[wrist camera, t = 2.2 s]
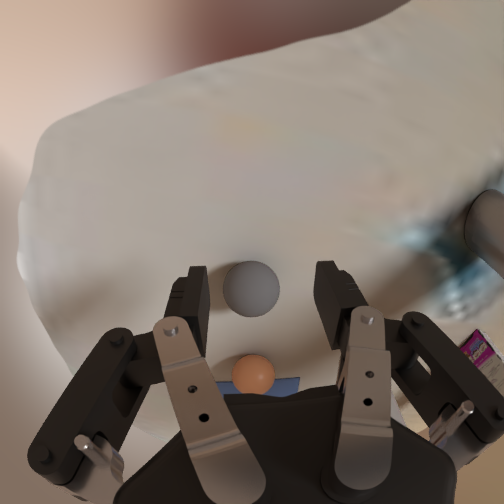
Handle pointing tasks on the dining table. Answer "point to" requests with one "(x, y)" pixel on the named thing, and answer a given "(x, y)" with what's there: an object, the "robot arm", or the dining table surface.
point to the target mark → (278, 389)
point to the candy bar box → (486, 358)
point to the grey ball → (251, 289)
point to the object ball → (253, 374)
